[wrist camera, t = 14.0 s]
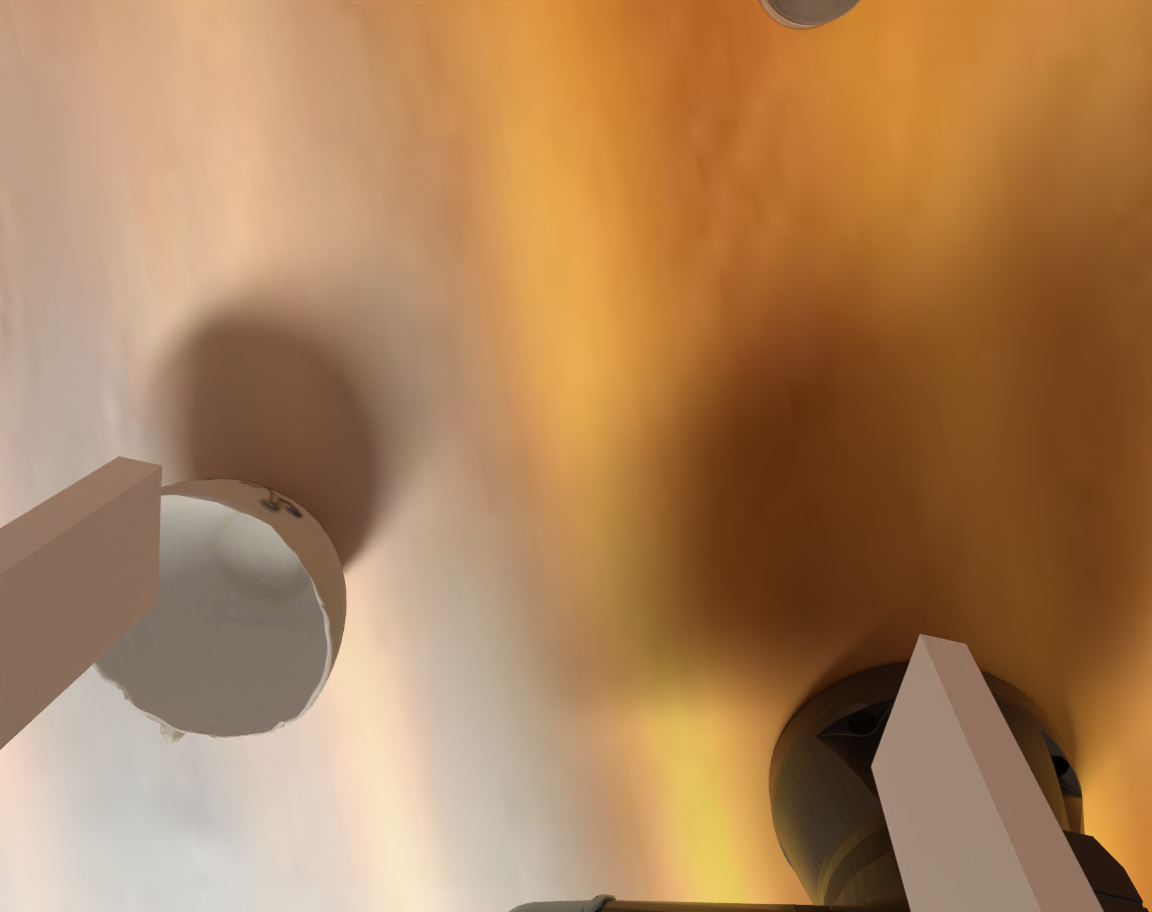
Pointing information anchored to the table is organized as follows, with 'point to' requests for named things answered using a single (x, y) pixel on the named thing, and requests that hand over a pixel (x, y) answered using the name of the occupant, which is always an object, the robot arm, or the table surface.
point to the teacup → (233, 614)
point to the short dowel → (806, 11)
